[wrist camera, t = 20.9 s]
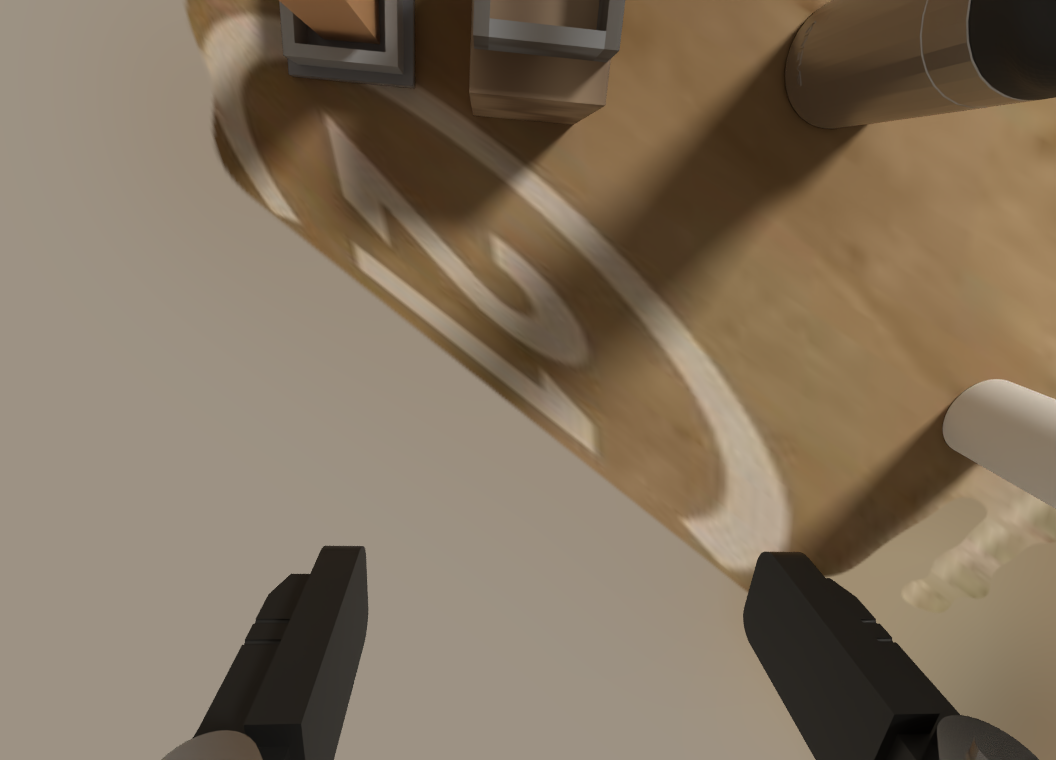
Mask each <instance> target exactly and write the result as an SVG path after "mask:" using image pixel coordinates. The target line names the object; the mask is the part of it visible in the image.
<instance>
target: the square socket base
mask: <svg viewBox="0 0 1056 760" xmlns="http://www.w3.org/2000/svg"><path fill="white" fill-rule="evenodd" d="M624 6H625V0H472V17H471V48H470V79H469V95H470V101H471V106H472V112H473V116H484V117H495V118H506V119H517V120H528V121H539V122H550V123H561V124H572V125H574V124H575V123H577V122H579V121H580V120H582V119H584V118H585V117H587V116H589V115H590V114H592V113H594V112H595V111H597V110H599V109H600V108H602V107H604V106H605V105H606V96H607V87H608V78H609V69H610V60H611V58H612V57H613V56H614V55H615V54H616V53H617V52H618V51H619V49H620V40H621V32H622V23H623V15H624Z"/></svg>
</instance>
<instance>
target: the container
mask: <svg viewBox="0 0 1056 760" xmlns="http://www.w3.org/2000/svg"><path fill="white" fill-rule="evenodd" d="M943 436H944V439H945V441H946V443H947V444H948V446H949V447H950V448H952V449H953V450H955V451H957V452H958V453H960V454H962V455H963V456H965V457H967V458H969V459H970V460H972V461H974V462H976V463H977V464H979V465H981V466H983V467H984V468H986V469H988V470H989V471H991V472H993V473H995V474H996V475H998V476H1000V477H1002V478H1003V479H1005V480H1007V481H1008V482H1010V483H1012V484H1014V485H1015V486H1017V487H1019V488H1021V489H1022V490H1024V491H1026V492H1028V493H1029V494H1031V495H1033V496H1034V497H1036V498H1038V499H1040V500H1041V501H1043V502H1045V503H1047V504H1048V505H1050V506H1052V507H1053V508H1055V509H1056V399H1053V398H1051V397H1048V396H1046V395H1043V394H1040V393H1038V392H1035V391H1033V390H1030V389H1027V388H1025V387H1022V386H1020V385H1017V384H1015V383H1012V382H1009V381H1006V380H1001V379H992V380H987V381H983V382H980V383H978V384H975V385H973V386H972V387H970V388H968V389H967V390H965V391H964V392H963V393H962V394H961V395H959V396H958V397H957V398H956V400H955V401H954V402H953V403H952V405H951V406H950V408H949V409H948V411H947V413H946V416H945V418H944V422H943Z"/></svg>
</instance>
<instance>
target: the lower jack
mask: <svg viewBox="0 0 1056 760" xmlns="http://www.w3.org/2000/svg"><path fill="white" fill-rule="evenodd" d="M279 4H280V17H281V31H282V44H283V56H285V57H287V58H288V71H289V75H291V76H293V77H301V78H311V79H322V80H332V81H343V82H353V83H364V84H374V85H385V86H395V87H405V88H415V0H379V28H380V44H371V43H360V42H349V41H338V40H327V39H323V38H321V37H320V36H319V35H318V34H317V33H316V32H315V31H313V30H312V29H311V28H310V27H309V26H308V25H306V24H305V23H304V22H303V21H302V20H301V19H300V18H298V17H297V16H296V15H295V14H294V13H293V12H291V11H290V10H289V9H288V8H287V7H286V6H285V5H283V4H282V3H281V2H280V1H279Z"/></svg>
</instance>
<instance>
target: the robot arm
mask: <svg viewBox="0 0 1056 760" xmlns="http://www.w3.org/2000/svg"><path fill="white" fill-rule="evenodd" d="M785 82H786V90H787V94H788V97H789V100H790V102H791V104H792V106H793V108H794V110H795V111H796V112H797V113H798V115H799V116H800V117H801V118H802V119H804V120H805V121H806V122H808V123H809V124H811V125H814V126H817V127H819V128H827V129H835V128H842V127H849V126H857V125H864V124H873V123H880V122H887V121H894V120H901V119H908V118H916V117H923V116H930V115H937V114H944V113H951V112H958V111H965V110H972V109H979V108H986V107H991V106H999V105H1006V104H1013V103H1020V102H1027V101H1034V100H1041V99H1048V98H1054V97H1056V0H833V1H831V2H829V3H827V4H825V5H824V6H822V7H821V8H819V9H818V10H816V11H815V12H814V13H813V14H812V15H811V16H810V17H809V18H808V19H807V20H806V21H805V23H804V24H803V25H802V27H801V28H800V30H799V31H798V32H797V34H796V36H795V38H794V40H793V42H792V44H791V47H790V50H789V54H788V57H787V61H786V69H785ZM743 620H744V628H745V632H746V635H747V638H748V641H749V643H750V645H751V646H752V648H753V650H754V652H755V653H756V655H757V657H758V658H759V661H760V662H761V664H762V666H763V668H764V669H765V671H766V673H767V675H768V676H769V678H770V680H771V682H772V683H773V685H774V687H775V689H776V690H777V692H778V694H779V696H780V697H781V699H782V701H783V703H784V705H785V706H786V708H787V710H788V712H789V713H790V715H791V717H792V719H793V721H794V722H795V724H796V726H797V727H798V729H799V731H800V733H801V735H802V736H803V738H804V740H805V742H806V743H807V745H808V747H809V749H810V750H811V752H812V754H813V756H814V758H815V759H816V760H1039V759H1038V758H1037V757H1036V756H1035V755H1034V754H1032V752H1031V751H1029V750H1028V749H1027V748H1026V747H1025V746H1024V745H1022V744H1021V743H1020V742H1019V741H1017V740H1016V739H1014V738H1013V737H1011V736H1010V735H1009V734H1007V733H1005V732H1004V731H1002V730H1000V729H999V728H997V727H994V726H992V725H990V724H989V723H986V722H984V721H981V720H979V719H976V718H972V717H969V716H962V715H960V714H959V713H958V712H957V711H956V710H955V708H954V707H953V706H952V705H951V704H950V703H949V702H948V701H947V699H946V698H945V697H944V696H943V695H942V694H941V693H940V691H939V690H938V689H937V688H936V687H935V686H934V685H933V683H932V682H931V681H930V680H929V679H928V678H927V677H926V676H925V675H924V673H923V672H922V671H921V670H920V669H919V668H918V666H917V665H915V663H914V662H913V661H912V660H911V659H910V657H908V655H907V654H906V653H905V652H904V651H903V650H902V649H901V647H900V646H899V645H898V644H897V643H893V641H892V637H891V636H890V635H889V634H888V632H887V631H886V630H885V629H884V628H883V627H882V626H881V625H880V624H877V623H876V619H875V618H874V617H873V616H872V614H871V613H870V612H869V611H868V610H867V609H866V608H865V606H864V605H863V604H862V603H861V602H860V601H859V600H858V599H857V597H855V596H854V595H852V594H851V593H850V592H848V591H847V590H846V589H844V588H843V587H841V586H840V585H838V584H837V583H836V582H835V581H833V580H832V579H830V578H825V577H824V576H823V575H822V573H821V572H820V571H819V570H818V569H817V568H816V566H815V565H814V564H813V563H812V562H811V561H810V559H809V558H808V557H807V556H806V555H804V554H803V553H801V552H763V553H761V555H760V556H759V558H758V560H757V563H756V567H755V571H754V574H753V578H752V581H751V585H750V589H749V592H748V596H747V600H746V603H745V607H744V613H743ZM367 622H368V592H367V569H366V553H365V548H364V547H363V546H324V547H323V548H322V550H321V551H320V553H319V556H318V558H317V560H316V562H315V565H314V567H313V569H312V571H311V574H291V575H289V576H288V577H287V578H286V579H285V580H284V581H283V582H282V583H281V584H279V585H278V586H277V587H276V588H275V589H274V590H273V591H272V592H271V593H270V594H269V595H268V597H267V598H266V600H265V602H264V604H263V607H262V608H261V610H260V612H259V614H258V616H257V618H256V622H255V624H253V625H252V627H251V629H250V631H249V633H248V635H247V637H246V639H245V644H244V645H242V646H241V648H240V650H239V652H238V654H237V656H236V658H235V660H234V662H233V664H232V666H231V668H230V669H229V672H228V674H227V675H226V677H225V679H224V681H223V683H222V685H221V687H220V689H219V691H218V692H217V694H216V696H215V698H214V700H213V702H212V704H211V706H210V708H209V710H208V712H207V714H206V715H205V717H204V719H203V721H202V723H201V725H200V727H199V729H198V730H197V732H196V734H195V735H194V737H193V738H192V739H191V740H188V741H187V742H185V743H183V744H182V745H180V746H178V747H176V748H175V749H174V750H173V751H171V752H170V753H168V754H167V755H166V756H165V757H164V758H163V759H162V760H334V757H335V753H336V749H337V745H338V741H339V737H340V734H341V730H342V726H343V722H344V719H345V715H346V711H347V707H348V703H349V699H350V695H351V692H352V688H353V684H354V680H355V676H356V672H357V669H358V665H359V661H360V657H361V653H362V650H363V646H364V642H365V637H366V630H367Z"/></svg>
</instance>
